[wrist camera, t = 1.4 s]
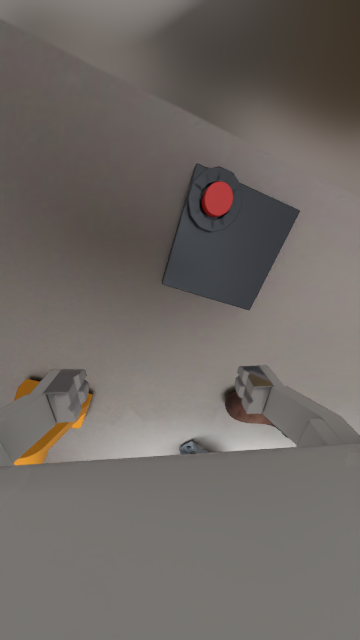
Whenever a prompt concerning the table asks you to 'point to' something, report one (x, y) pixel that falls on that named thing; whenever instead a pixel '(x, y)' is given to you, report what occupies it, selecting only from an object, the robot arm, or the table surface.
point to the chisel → (244, 412)
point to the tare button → (217, 199)
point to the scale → (227, 241)
